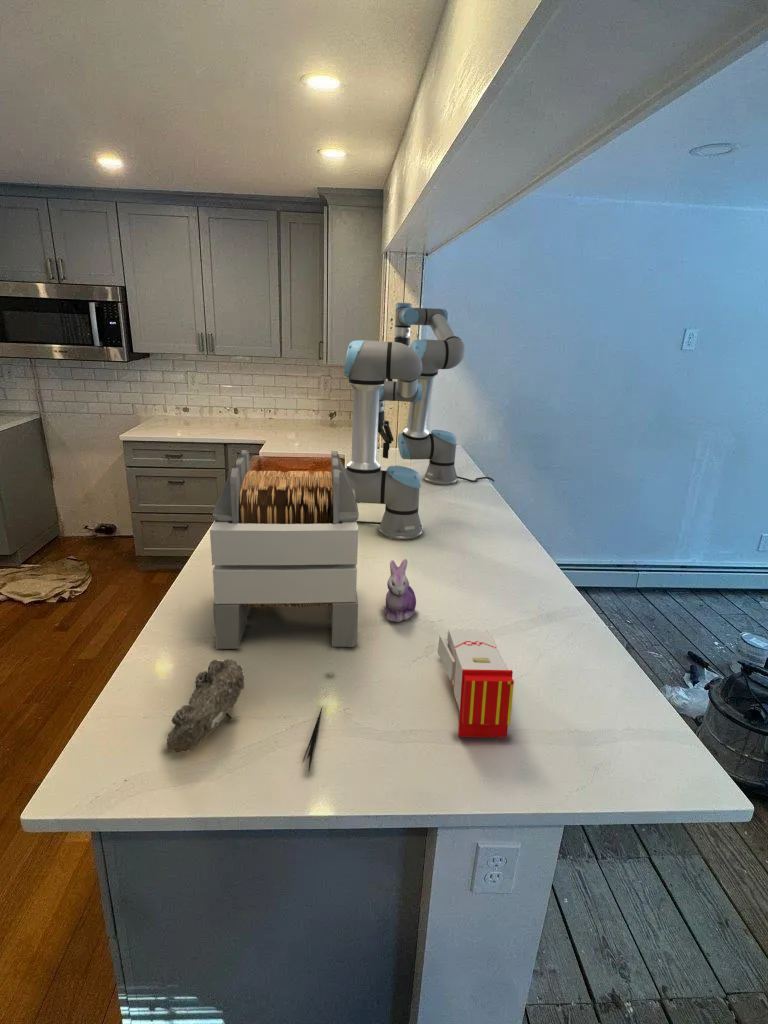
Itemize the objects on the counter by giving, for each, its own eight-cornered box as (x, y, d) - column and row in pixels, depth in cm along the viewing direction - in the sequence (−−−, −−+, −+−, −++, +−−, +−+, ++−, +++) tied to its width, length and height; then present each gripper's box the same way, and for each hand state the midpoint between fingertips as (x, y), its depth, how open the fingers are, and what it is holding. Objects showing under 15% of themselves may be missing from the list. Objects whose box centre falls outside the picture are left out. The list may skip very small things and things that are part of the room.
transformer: (234, 582, 160) (226, 440, 146) (350, 581, 163) (353, 443, 150) (213, 651, 128) (201, 478, 114) (357, 647, 132) (363, 480, 118)
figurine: (392, 627, 141) (395, 572, 136) (374, 608, 149) (376, 556, 144) (425, 619, 145) (429, 566, 140) (405, 601, 154) (408, 550, 149)
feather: (331, 679, 122) (336, 673, 122) (307, 777, 96) (313, 769, 95) (324, 675, 122) (329, 669, 121) (298, 772, 95) (304, 764, 95)
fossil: (192, 660, 117) (244, 628, 112) (224, 691, 120) (276, 661, 115) (142, 746, 98) (202, 712, 93) (182, 779, 101) (242, 748, 96)
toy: (488, 613, 130) (523, 677, 101) (484, 667, 133) (517, 744, 104) (435, 612, 130) (455, 676, 101) (432, 666, 133) (451, 743, 103)
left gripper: (358, 414, 223) (357, 466, 231) (403, 409, 240) (400, 457, 247) (346, 411, 229) (345, 462, 236) (391, 406, 245) (388, 454, 252)
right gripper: (388, 337, 263) (386, 383, 270) (425, 337, 279) (422, 381, 287) (377, 336, 268) (376, 381, 276) (414, 336, 285) (412, 379, 292)
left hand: (373, 460), depth 242 cm, fingers open, 13 cm apart
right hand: (399, 381), depth 281 cm, fingers open, 13 cm apart
